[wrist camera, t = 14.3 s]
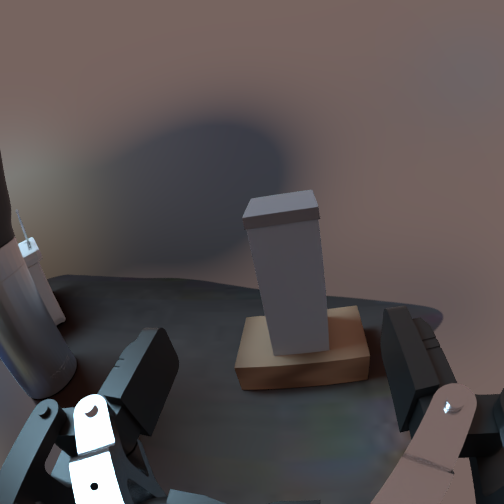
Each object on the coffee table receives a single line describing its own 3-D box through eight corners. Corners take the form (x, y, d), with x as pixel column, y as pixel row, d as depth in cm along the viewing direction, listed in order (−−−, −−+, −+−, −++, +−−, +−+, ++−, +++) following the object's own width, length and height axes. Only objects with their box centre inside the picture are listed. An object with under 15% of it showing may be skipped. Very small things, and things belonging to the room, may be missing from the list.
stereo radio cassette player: (26, 305, 49) (-8, 221, 41) (54, 289, 54) (22, 206, 46) (34, 344, 35) (-20, 229, 27) (72, 321, 40) (24, 205, 32)
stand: (242, 389, 24) (234, 367, 23) (252, 339, 30) (246, 317, 29) (367, 379, 22) (370, 355, 21) (356, 328, 28) (356, 305, 27)
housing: (272, 356, 23) (242, 217, 18) (275, 321, 28) (250, 198, 23) (330, 350, 22) (318, 206, 18) (325, 316, 27) (312, 189, 22)
